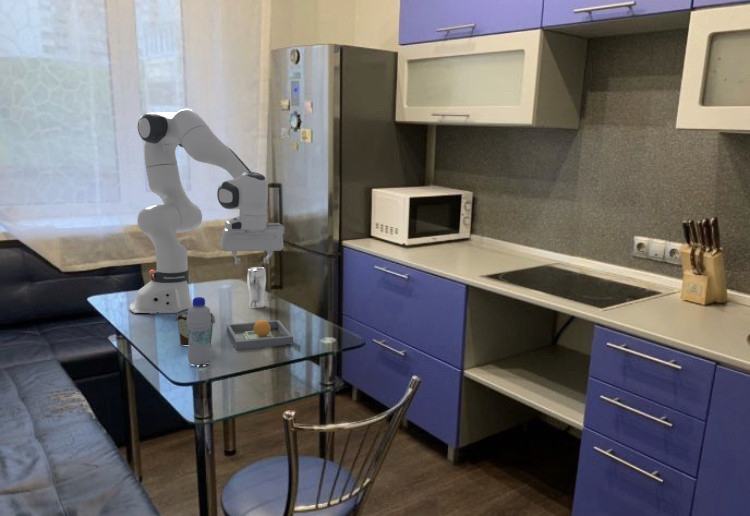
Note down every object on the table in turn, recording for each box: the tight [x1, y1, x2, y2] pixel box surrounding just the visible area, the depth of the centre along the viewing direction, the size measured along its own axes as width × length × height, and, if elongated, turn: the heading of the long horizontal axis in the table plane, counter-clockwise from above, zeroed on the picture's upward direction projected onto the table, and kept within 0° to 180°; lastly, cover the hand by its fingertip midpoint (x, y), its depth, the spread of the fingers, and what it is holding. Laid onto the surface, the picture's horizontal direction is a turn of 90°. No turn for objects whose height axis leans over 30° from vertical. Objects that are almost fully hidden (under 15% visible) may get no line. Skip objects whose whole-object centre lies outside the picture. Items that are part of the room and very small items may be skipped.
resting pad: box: [242, 330, 274, 340], centre depth 193 cm, size 9×9×1 cm
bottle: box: [187, 296, 212, 366], centre depth 166 cm, size 7×7×20 cm
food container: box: [175, 310, 216, 348], centre depth 184 cm, size 12×6×10 cm, turn 84°
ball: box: [253, 319, 272, 337], centre depth 192 cm, size 6×6×6 cm
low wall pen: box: [225, 319, 294, 351], centre depth 192 cm, size 18×18×2 cm
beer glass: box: [246, 266, 267, 309], centre depth 226 cm, size 7×7×15 cm
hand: (252, 263), depth 194 cm, fingers open, 8 cm apart
